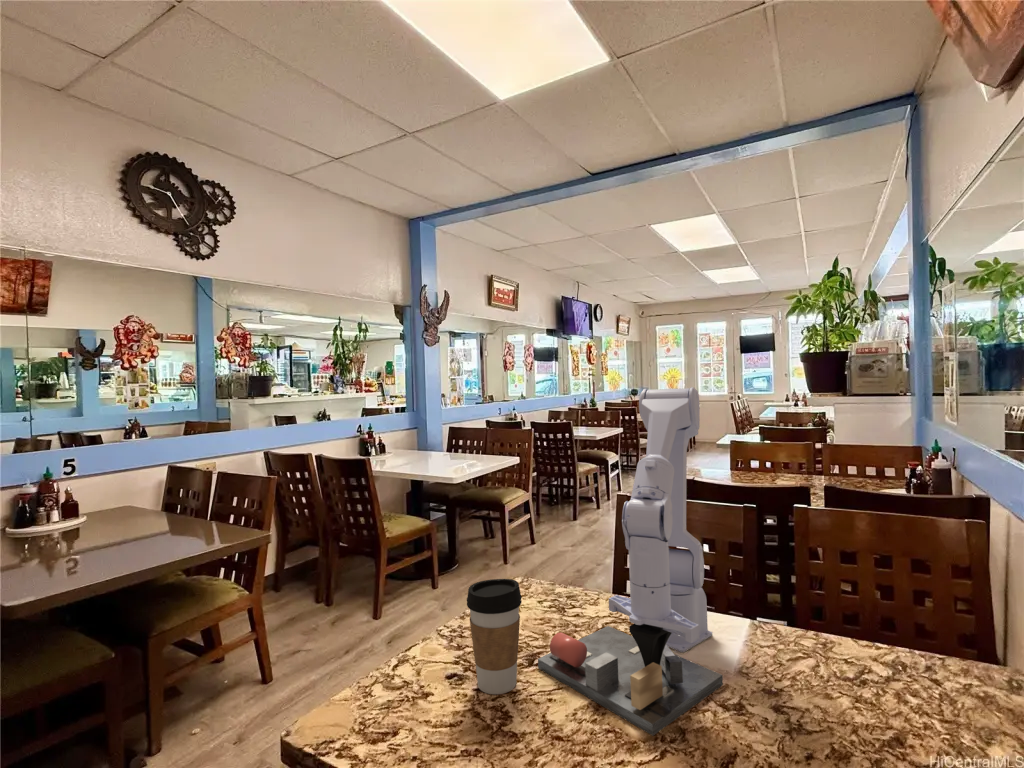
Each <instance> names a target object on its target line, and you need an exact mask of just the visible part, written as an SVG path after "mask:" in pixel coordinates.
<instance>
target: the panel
mask: <svg viewBox="0 0 1024 768" xmlns="http://www.w3.org/2000/svg"><path fill="white" fill-rule="evenodd" d="M577 640H578V641H580V642H582V643H584V644H585V645H586V647H587V656H586V659H585V661H584V663H583V664H582V665H581V666H580V667H574V666H572V665H570V664H568V663H566V662H565V661H563V660H561V659H559V658H557V657H555V656H554V655H552V654H551V652H549V653H547V654H545V655H543V656H541V657H539V658H537V668H538V669H539V670H540V671H542V672H544V673H545V674H547V675H549V676H550V677H552V678H554V679H555V680H558V681H559V682H560V683H562V684H565V685H566V686H567V687H569V688H571V689H573V690H574V691H576V692H578V693H579V694H581V695H583V696H585V697H586V698H587V699H590V700H591V701H593V702H595V703H596V704H598V705H600V706H602V707H603V708H605V709H607V710H608V711H610V712H612V713H613V714H615V715H617V716H619V717H620V718H622V719H624V720H626V721H627V722H628V723H630V724H632V725H634V726H635V727H637V728H639V729H640V730H642V731H644V732H645V733H647V734H648V735H650V736H655V735H656V734H658V733H659V732H661V731H662V730H663V729H664V728H666V727H667V726H669V725H670V724H672V723H673V722H675V720H677V719H678V718H680V717H681V716H682V715H684V714H685V713H687V711H689V710H691V709H692V708H693V707H695V706H696V705H698V704H699V703H701V702H702V701H703V700H704V699H706V698H707V697H708V696H710V695H711V694H713V693H715V691H717V690H719V688H721V687H722V686H724V681H723V680H724V677H723V674H722V673H720V672H717V671H715V670H712V669H709V668H708V667H705V666H702V665H700V664H698V663H696V662H694V661H691V660H689V659H686V658H684V657H682V656H679V655H677V654H675V653H673V654H674V655H675V656H676V655H677V656H678V657H679V659H680V660H681V661H682V674H683V683H676V684H670V682H669V681H668V680H667V678H666V674H665V673H664V671H663V670H662V689H663V696H661V697H659V698H658V699H656V700H655V701H653V702H652V703H650V704H649V705H647V706H646V707H644V708H643V709H641V710H639V709H637V708H635V707H633V706H631V679H630V675H632V674H634V673H635V672H637V671H639V670H641V669H642V668H644V667H645V665H644V662H643V658H642V655H641V653H640V650H639V648H638V645H637V643H636V641H635V639H634V638H633V636H632V635H631V634H628V633H625V632H624V631H621V630H620V629H616V628H614V627H612V626H609V625H607V626H604V627H603V628H601V629H599V630H596V631H594V632H592V633H590V634H588V635H586V636H584V637H582V638H579V639H577Z"/></svg>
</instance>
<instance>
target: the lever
mask: <svg viewBox="0 0 1024 768" xmlns="http://www.w3.org/2000/svg"><path fill="white" fill-rule="evenodd" d="M674 654H675V653H674V652H673V651H672V649H671V648H670V647H668V646H667V645H665V647H664V650H663V653H662V657H661V661H660V666H662V670H663V671H664V673H665V674H666V678H667V680H668V681H669V682H670V684H676V683H683V674H682V661H681V660H680V659H679V657H678V656H679V655H678V654H675V655H676V656H675V655H674Z"/></svg>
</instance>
